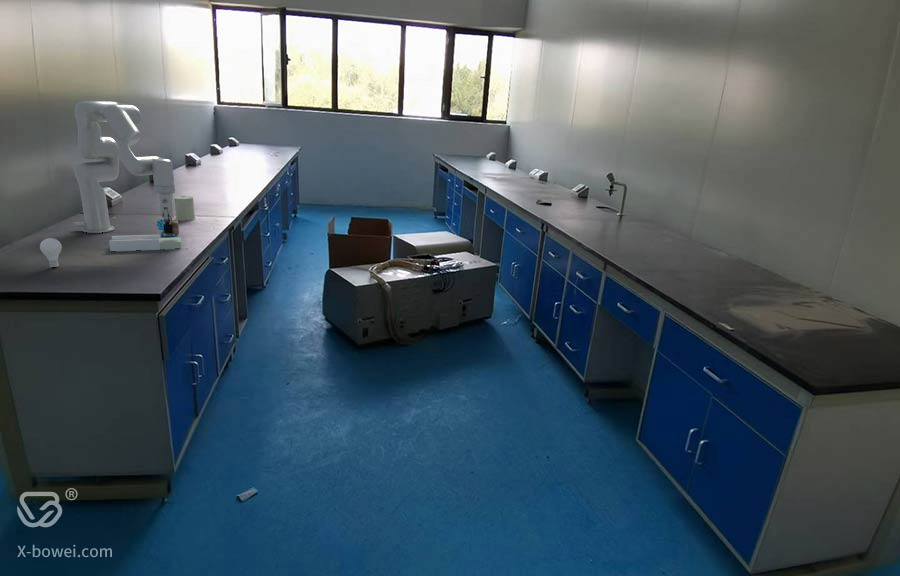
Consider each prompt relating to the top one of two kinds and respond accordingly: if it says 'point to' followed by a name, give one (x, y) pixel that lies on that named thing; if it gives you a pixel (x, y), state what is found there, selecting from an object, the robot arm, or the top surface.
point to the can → (184, 208)
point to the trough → (143, 243)
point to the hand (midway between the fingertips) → (168, 231)
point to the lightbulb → (51, 250)
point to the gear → (162, 227)
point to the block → (174, 227)
